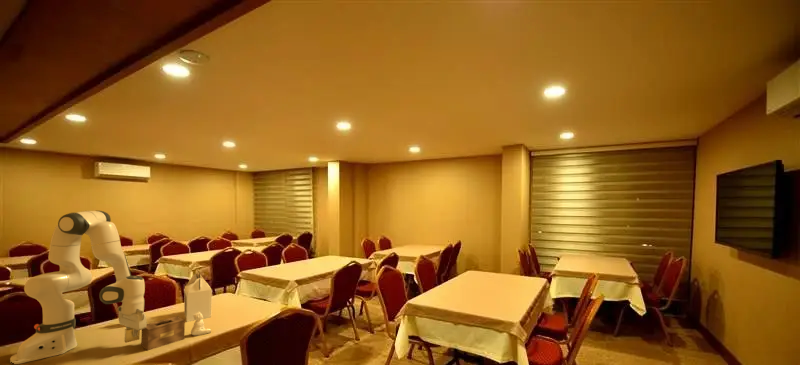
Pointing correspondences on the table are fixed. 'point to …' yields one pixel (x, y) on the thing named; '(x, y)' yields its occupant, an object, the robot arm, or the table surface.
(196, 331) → the sitting furry creature
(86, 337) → the table surface
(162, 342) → the coin box
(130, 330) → the token
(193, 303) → the gable box
